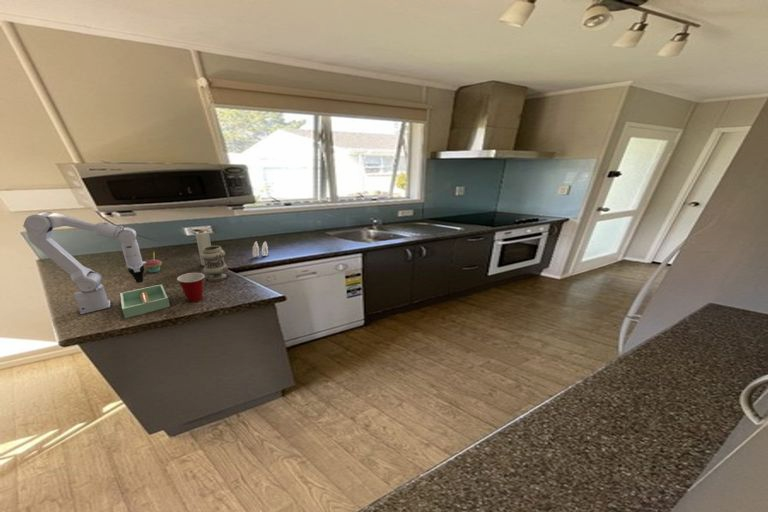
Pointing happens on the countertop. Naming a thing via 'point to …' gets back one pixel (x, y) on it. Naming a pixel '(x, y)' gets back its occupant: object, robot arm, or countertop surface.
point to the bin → (135, 307)
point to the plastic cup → (192, 285)
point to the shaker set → (256, 249)
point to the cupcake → (153, 264)
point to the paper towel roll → (202, 242)
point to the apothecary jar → (214, 263)
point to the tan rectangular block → (144, 297)
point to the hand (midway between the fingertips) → (139, 282)
